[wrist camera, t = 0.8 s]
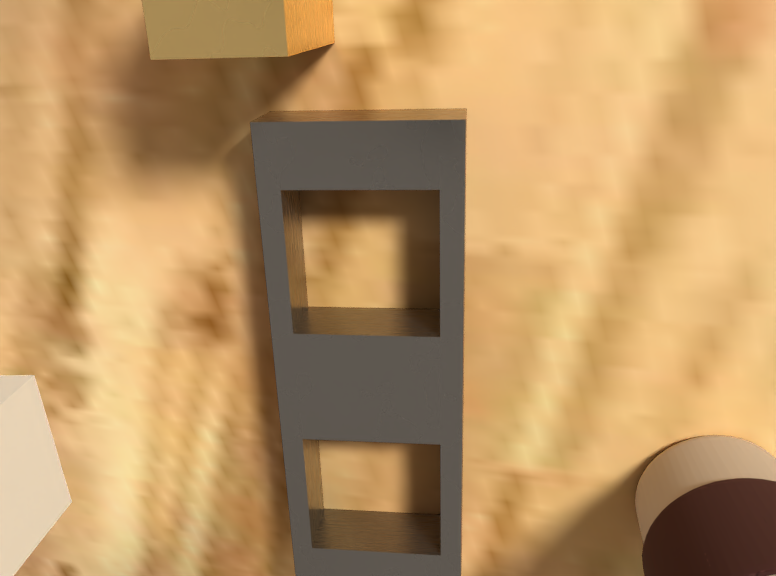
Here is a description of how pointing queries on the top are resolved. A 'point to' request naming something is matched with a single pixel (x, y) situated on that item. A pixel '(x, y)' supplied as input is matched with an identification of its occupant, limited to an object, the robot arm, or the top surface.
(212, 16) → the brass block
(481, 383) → the top surface
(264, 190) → the gray slotted rack
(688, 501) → the coffee cup
